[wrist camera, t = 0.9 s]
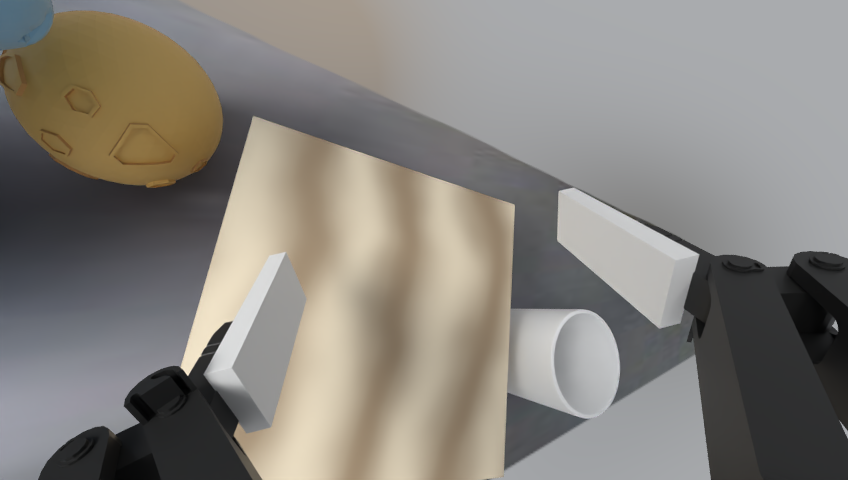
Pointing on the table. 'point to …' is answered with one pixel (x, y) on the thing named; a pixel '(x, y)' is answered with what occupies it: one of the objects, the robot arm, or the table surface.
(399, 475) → the footstool
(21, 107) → the stress ball
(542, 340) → the mug
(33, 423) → the table surface
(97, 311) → the table surface
